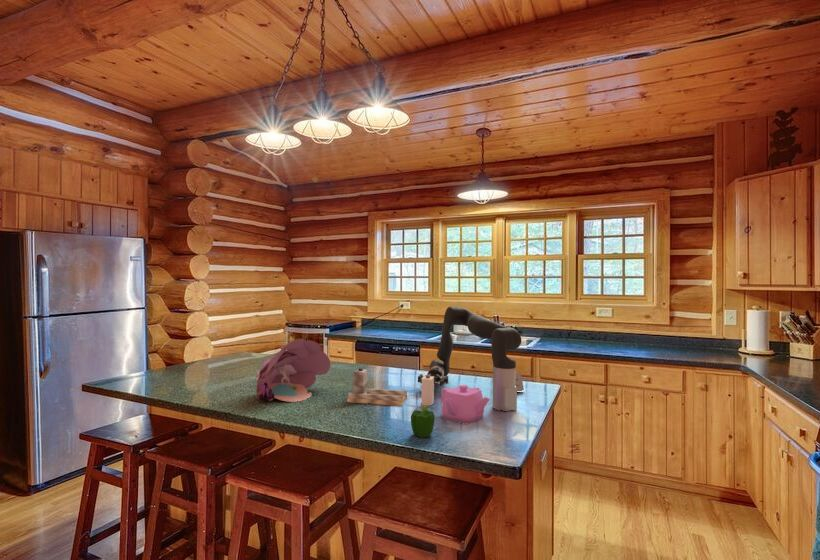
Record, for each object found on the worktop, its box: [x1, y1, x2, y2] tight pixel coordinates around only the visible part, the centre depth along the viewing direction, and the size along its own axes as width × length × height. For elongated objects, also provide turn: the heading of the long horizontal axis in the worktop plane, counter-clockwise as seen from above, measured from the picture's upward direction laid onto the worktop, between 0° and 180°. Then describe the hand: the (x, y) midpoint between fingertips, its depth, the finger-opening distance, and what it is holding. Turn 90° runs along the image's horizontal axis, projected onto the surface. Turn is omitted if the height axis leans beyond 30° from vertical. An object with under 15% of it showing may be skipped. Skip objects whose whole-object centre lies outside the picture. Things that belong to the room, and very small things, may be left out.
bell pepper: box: [410, 405, 436, 438], centre depth 146 cm, size 8×8×10 cm
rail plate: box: [346, 367, 408, 407], centre depth 188 cm, size 24×12×14 cm, turn 80°
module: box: [421, 374, 435, 406], centre depth 184 cm, size 4×6×12 cm
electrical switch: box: [516, 371, 525, 391], centre depth 205 cm, size 9×5×9 cm, turn 116°
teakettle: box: [440, 384, 490, 425], centre depth 166 cm, size 17×17×12 cm
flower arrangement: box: [255, 338, 331, 403], centre depth 193 cm, size 35×24×28 cm
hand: (431, 382), depth 195 cm, fingers open, 8 cm apart
